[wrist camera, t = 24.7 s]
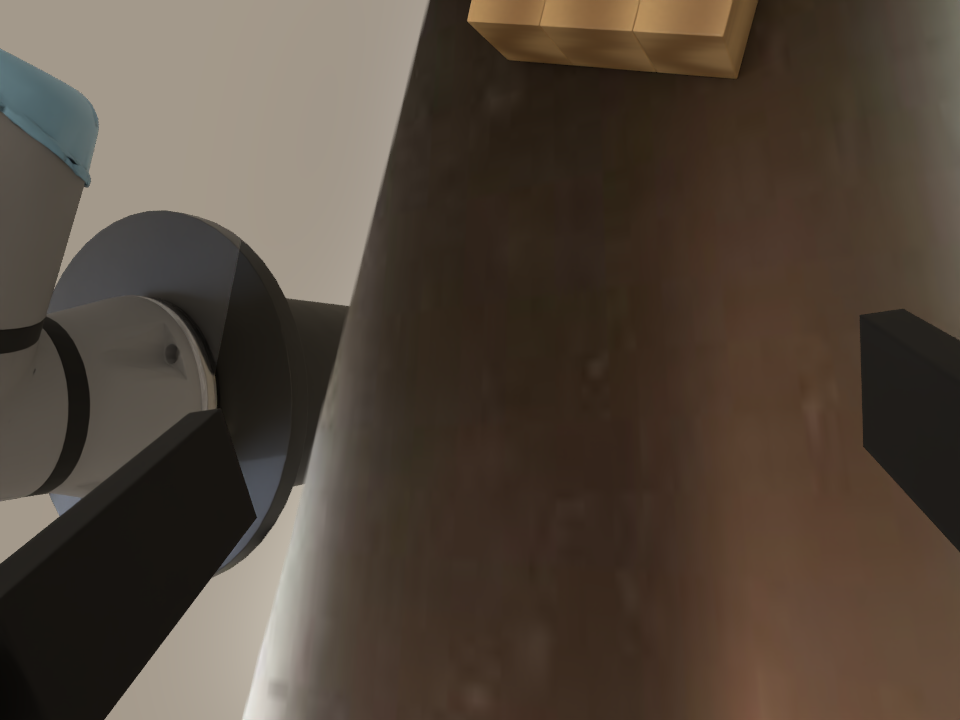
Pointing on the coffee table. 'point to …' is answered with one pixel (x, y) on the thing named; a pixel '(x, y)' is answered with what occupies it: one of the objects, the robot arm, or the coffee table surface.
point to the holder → (621, 33)
